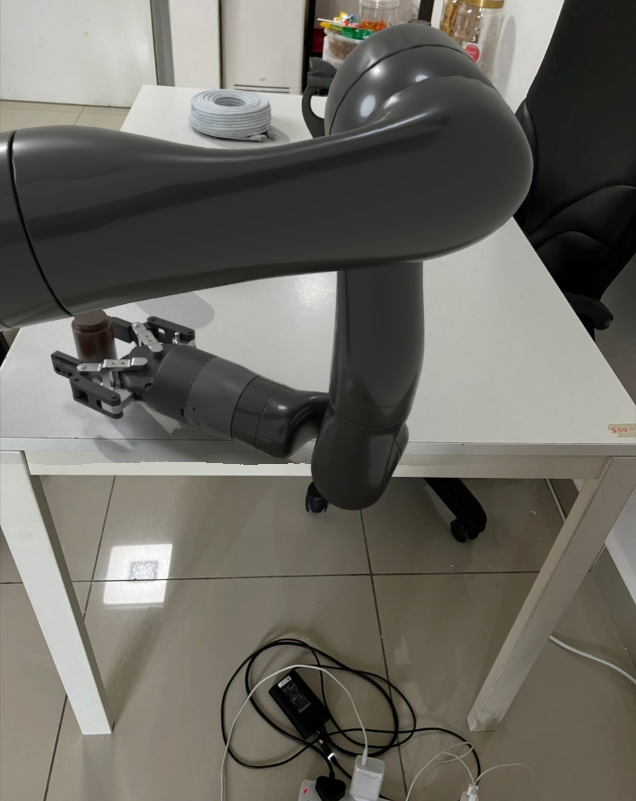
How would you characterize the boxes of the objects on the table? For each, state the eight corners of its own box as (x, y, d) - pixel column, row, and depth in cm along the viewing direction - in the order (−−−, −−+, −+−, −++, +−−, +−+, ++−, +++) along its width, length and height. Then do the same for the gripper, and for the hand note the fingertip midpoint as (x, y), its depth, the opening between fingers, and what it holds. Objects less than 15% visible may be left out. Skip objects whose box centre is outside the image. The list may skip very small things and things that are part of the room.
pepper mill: (92, 406, 70) (76, 331, 64) (80, 385, 73) (64, 311, 66) (127, 395, 72) (116, 321, 65) (115, 375, 74) (102, 301, 68)
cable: (277, 142, 133) (279, 112, 129) (192, 143, 130) (191, 111, 125) (263, 114, 146) (264, 85, 142) (185, 113, 142) (184, 84, 138)
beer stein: (299, 189, 117) (306, 70, 104) (296, 158, 128) (302, 47, 115) (401, 194, 119) (421, 78, 106) (390, 163, 130) (407, 54, 116)
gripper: (247, 327, 67) (118, 281, 71) (164, 407, 57) (21, 347, 61) (246, 382, 72) (126, 336, 76) (170, 464, 62) (37, 405, 66)
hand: (80, 341), depth 69 cm, fingers open, 7 cm apart
